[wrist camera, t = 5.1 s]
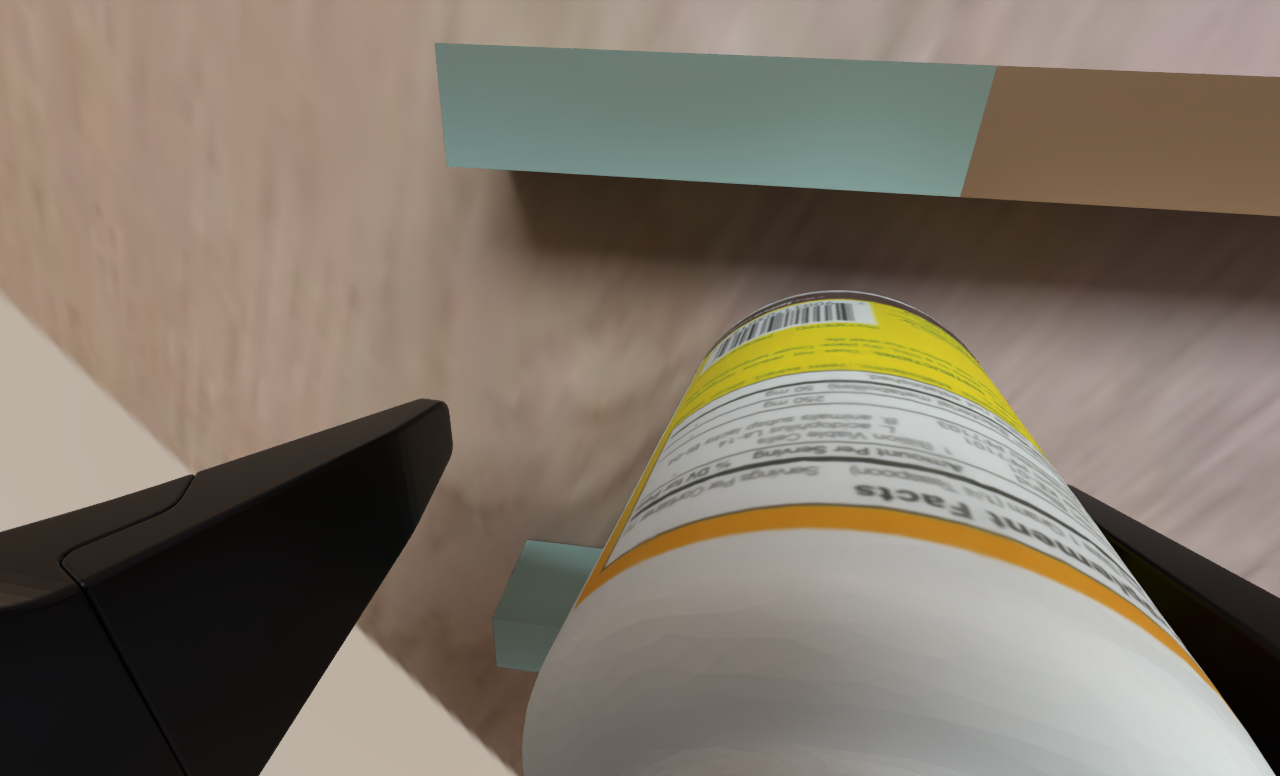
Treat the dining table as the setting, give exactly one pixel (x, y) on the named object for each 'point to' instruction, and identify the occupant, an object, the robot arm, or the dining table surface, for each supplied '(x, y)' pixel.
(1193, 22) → the dining table surface
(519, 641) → the bay
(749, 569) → the supplement bottle
